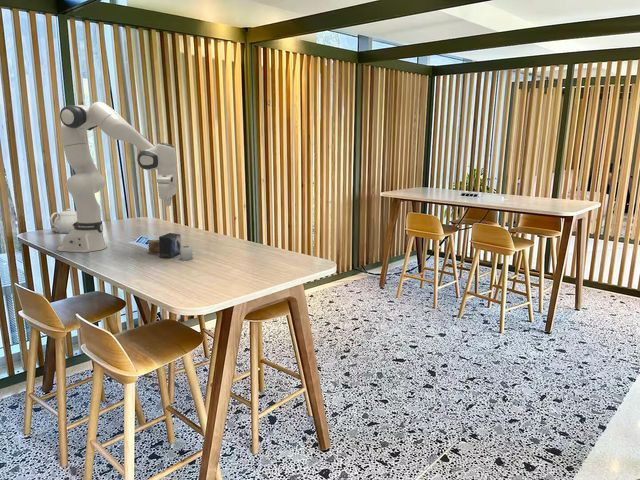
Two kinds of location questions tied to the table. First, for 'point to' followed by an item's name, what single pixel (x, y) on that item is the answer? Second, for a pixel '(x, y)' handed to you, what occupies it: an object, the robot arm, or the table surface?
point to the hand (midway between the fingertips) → (168, 205)
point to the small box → (169, 245)
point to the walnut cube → (153, 246)
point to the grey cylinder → (186, 252)
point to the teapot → (64, 221)
